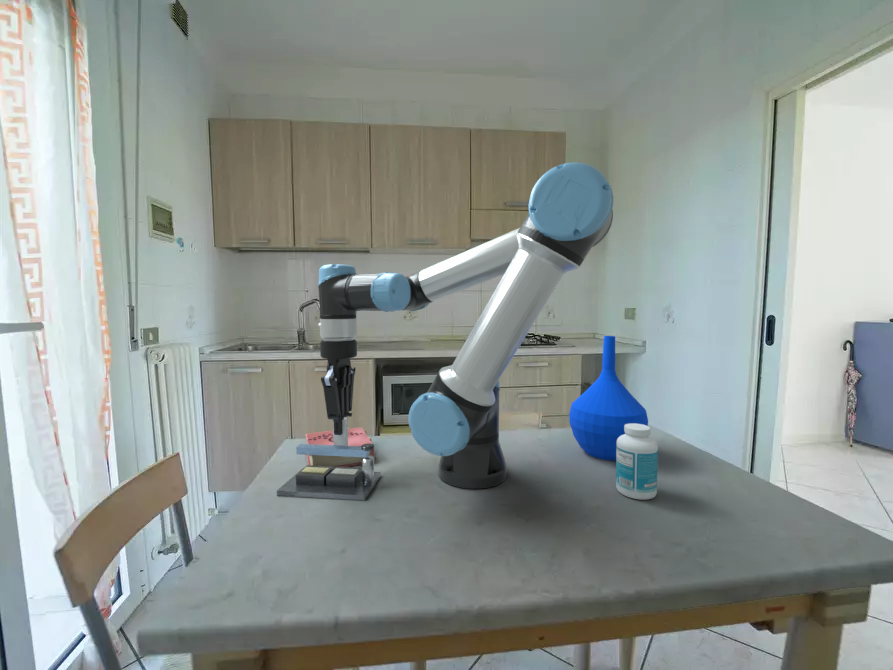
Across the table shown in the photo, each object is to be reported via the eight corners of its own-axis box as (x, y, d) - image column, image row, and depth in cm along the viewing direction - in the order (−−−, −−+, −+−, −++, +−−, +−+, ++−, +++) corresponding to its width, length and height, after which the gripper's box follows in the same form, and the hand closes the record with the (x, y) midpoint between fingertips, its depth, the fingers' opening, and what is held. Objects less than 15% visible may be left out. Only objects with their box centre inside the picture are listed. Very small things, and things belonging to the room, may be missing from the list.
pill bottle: (655, 488, 81) (657, 423, 80) (657, 504, 74) (660, 434, 73) (615, 481, 84) (617, 419, 83) (614, 496, 77) (616, 429, 77)
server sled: (381, 476, 87) (381, 448, 87) (365, 500, 76) (364, 468, 76) (303, 472, 89) (302, 445, 89) (276, 495, 78) (275, 464, 78)
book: (376, 463, 95) (376, 443, 95) (309, 474, 89) (309, 452, 89) (364, 444, 108) (364, 426, 108) (306, 452, 103) (305, 433, 102)
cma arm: (375, 453, 82) (375, 443, 82) (372, 458, 80) (371, 448, 80) (301, 450, 84) (301, 440, 84) (295, 454, 82) (295, 444, 82)
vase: (565, 439, 111) (567, 333, 109) (635, 443, 107) (639, 334, 105) (572, 465, 93) (575, 338, 91) (657, 471, 89) (662, 339, 87)
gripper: (334, 336, 91) (336, 437, 92) (307, 341, 78) (310, 458, 79) (366, 336, 90) (367, 438, 91) (343, 341, 77) (345, 460, 78)
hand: (340, 447), depth 85 cm, fingers closed
